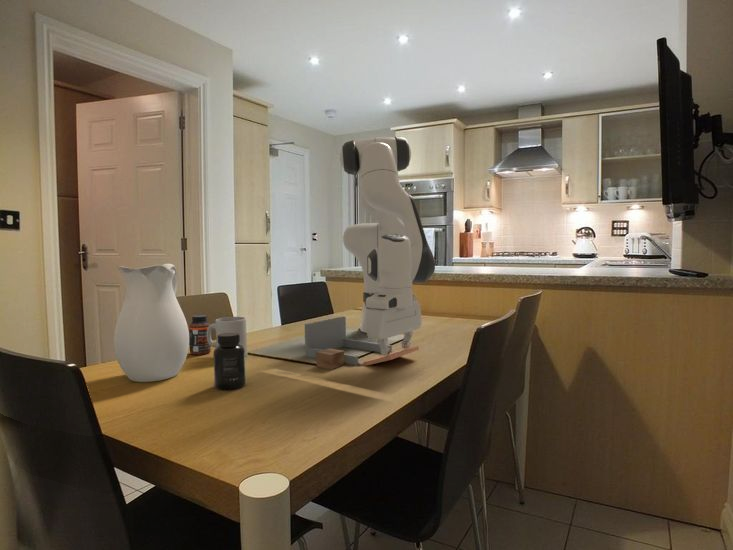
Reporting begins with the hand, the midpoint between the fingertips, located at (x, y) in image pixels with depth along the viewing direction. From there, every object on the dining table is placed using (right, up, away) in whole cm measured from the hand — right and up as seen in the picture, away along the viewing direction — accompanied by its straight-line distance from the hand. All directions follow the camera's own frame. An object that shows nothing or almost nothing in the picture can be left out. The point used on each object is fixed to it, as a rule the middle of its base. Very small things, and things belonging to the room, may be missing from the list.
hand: (396, 351), depth 122 cm
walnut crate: (-17, -5, -2) cm, 17 cm away
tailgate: (-5, -3, +4) cm, 7 cm away
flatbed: (-13, -4, +10) cm, 17 cm away
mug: (-48, -4, +15) cm, 51 cm away
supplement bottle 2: (-39, -6, -14) cm, 42 cm away
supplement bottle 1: (-57, -4, +20) cm, 60 cm away
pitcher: (-60, -5, -1) cm, 61 cm away
